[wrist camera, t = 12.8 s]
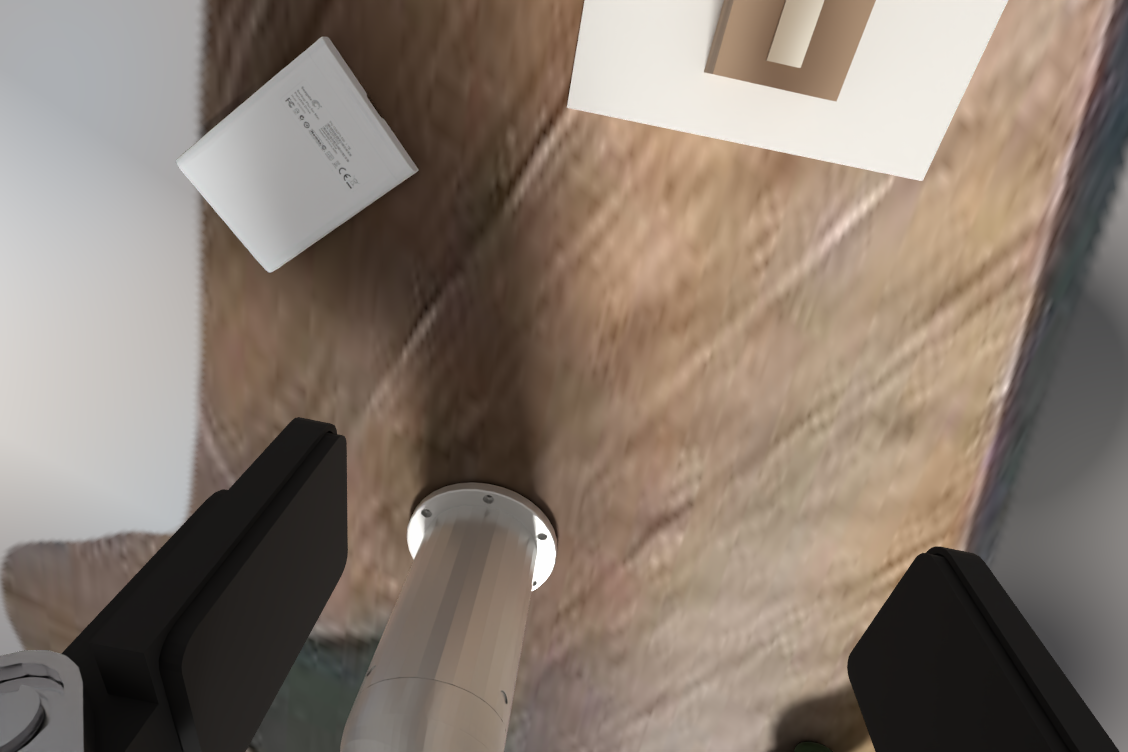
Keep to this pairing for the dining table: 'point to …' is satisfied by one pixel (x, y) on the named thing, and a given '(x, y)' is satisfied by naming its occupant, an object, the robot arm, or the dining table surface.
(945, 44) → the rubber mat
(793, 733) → the dining table surface
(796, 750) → the toy figurine
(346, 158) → the external hard drive
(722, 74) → the slotted tan block
